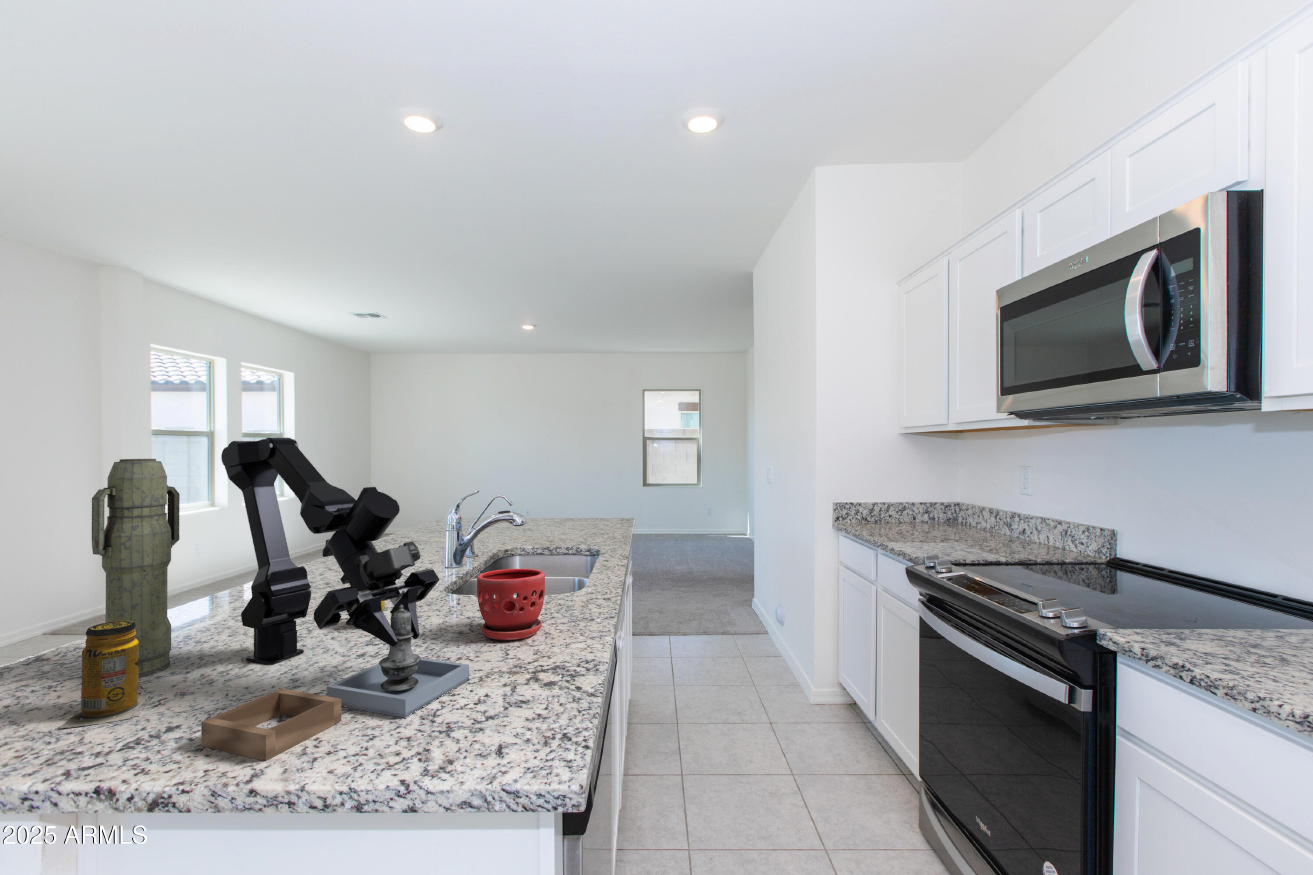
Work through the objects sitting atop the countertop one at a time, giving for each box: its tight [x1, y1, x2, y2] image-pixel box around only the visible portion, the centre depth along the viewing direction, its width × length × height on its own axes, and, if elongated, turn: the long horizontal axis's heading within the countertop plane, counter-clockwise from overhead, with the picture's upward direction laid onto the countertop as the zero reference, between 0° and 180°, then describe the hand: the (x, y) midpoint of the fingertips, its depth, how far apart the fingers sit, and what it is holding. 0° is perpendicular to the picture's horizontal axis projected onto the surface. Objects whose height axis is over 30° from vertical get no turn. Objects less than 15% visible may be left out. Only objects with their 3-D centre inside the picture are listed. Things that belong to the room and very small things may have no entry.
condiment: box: [59, 620, 150, 729], centre depth 85 cm, size 7×8×12 cm
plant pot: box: [476, 568, 546, 641], centre depth 121 cm, size 13×13×12 cm
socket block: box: [200, 688, 342, 762], centre depth 79 cm, size 11×11×3 cm
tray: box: [326, 657, 470, 718], centre depth 92 cm, size 14×14×2 cm
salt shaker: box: [378, 604, 422, 691], centre depth 92 cm, size 6×6×12 cm
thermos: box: [91, 458, 181, 678], centre depth 102 cm, size 9×12×35 cm
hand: (406, 641), depth 92 cm, fingers closed on salt shaker, 3 cm apart
